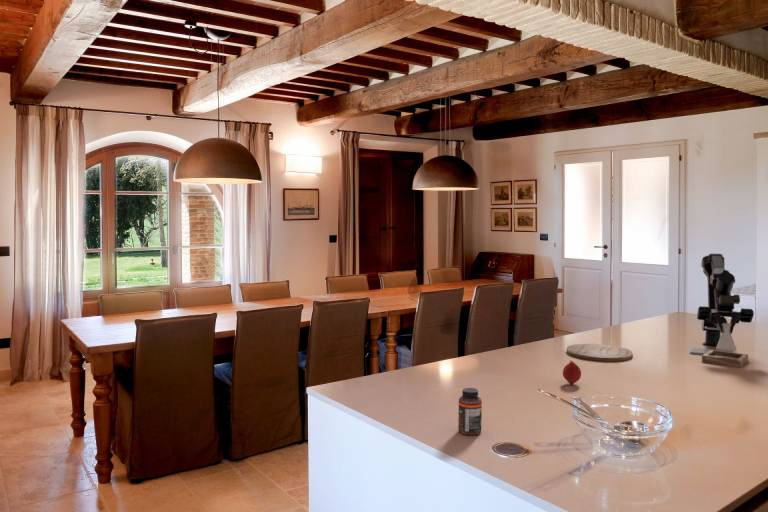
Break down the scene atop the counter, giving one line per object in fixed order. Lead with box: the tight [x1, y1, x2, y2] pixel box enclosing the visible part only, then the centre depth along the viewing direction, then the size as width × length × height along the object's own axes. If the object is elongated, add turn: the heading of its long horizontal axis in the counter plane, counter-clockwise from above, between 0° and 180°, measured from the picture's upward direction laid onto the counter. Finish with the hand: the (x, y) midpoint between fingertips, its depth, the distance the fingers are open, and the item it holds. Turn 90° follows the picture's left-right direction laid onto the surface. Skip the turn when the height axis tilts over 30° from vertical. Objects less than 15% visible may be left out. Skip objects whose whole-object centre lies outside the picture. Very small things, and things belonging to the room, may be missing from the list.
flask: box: [715, 322, 737, 352], centre depth 238 cm, size 7×7×10 cm
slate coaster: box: [689, 347, 712, 356], centre depth 253 cm, size 9×9×1 cm
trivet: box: [566, 343, 634, 363], centre depth 250 cm, size 25×25×2 cm
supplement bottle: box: [457, 387, 483, 437], centre depth 163 cm, size 6×6×11 cm
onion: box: [562, 359, 582, 385], centre depth 207 cm, size 6×6×8 cm
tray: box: [701, 349, 749, 368], centre depth 239 cm, size 13×13×2 cm
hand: (726, 332), depth 237 cm, fingers closed on flask, 3 cm apart
